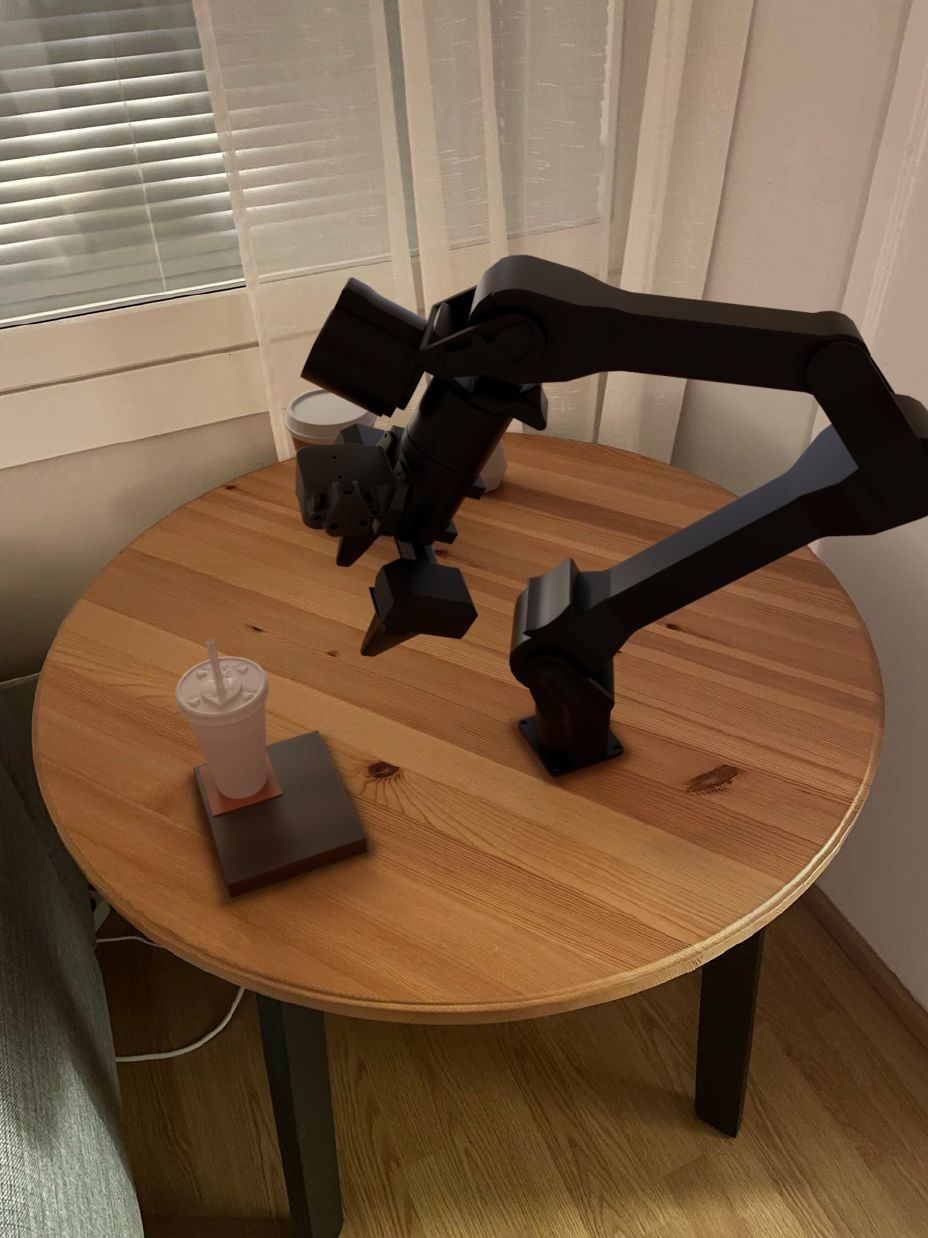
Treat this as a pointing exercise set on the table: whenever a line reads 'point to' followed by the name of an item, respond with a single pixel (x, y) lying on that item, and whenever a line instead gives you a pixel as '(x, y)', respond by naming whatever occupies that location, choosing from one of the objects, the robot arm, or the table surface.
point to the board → (283, 817)
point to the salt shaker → (495, 468)
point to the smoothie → (228, 719)
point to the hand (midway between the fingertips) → (353, 608)
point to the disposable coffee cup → (322, 417)
